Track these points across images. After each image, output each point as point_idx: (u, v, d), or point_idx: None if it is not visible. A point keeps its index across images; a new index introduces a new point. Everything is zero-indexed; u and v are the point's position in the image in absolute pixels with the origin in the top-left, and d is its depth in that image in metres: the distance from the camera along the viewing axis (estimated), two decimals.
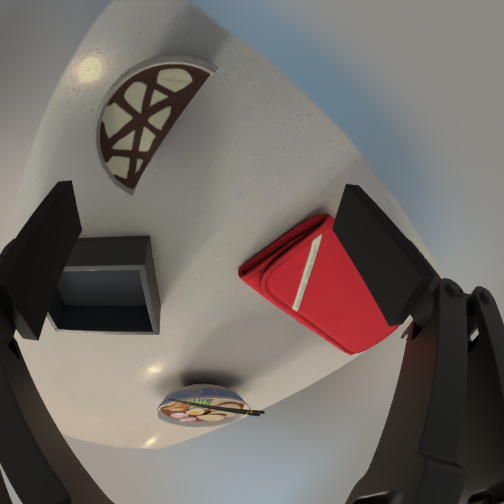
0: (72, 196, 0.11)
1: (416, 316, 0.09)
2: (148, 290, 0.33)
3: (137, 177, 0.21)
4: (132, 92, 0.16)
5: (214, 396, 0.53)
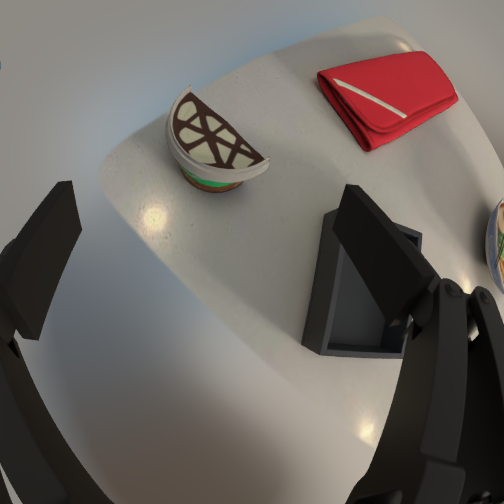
0: (72, 196, 0.11)
1: (416, 316, 0.09)
2: None
3: (255, 152, 0.27)
4: (186, 137, 0.25)
5: (495, 221, 0.39)
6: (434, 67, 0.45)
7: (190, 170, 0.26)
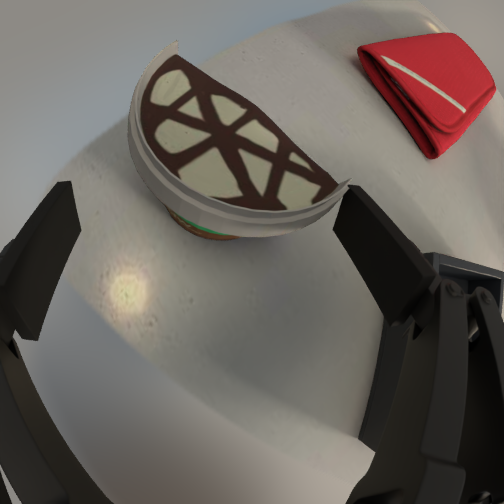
0: (71, 196, 0.11)
1: (417, 316, 0.09)
2: (462, 261, 0.19)
3: (320, 169, 0.13)
4: (171, 140, 0.11)
5: None
6: (470, 51, 0.31)
7: (184, 214, 0.12)
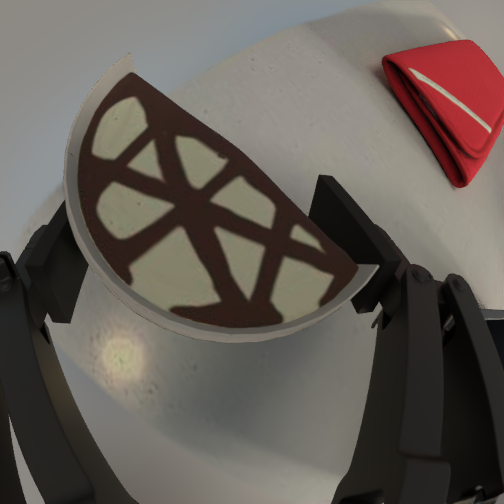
0: None
1: (385, 305, 0.10)
2: (489, 311, 0.16)
3: (334, 248, 0.09)
4: (118, 218, 0.08)
5: None
6: (488, 60, 0.28)
7: None
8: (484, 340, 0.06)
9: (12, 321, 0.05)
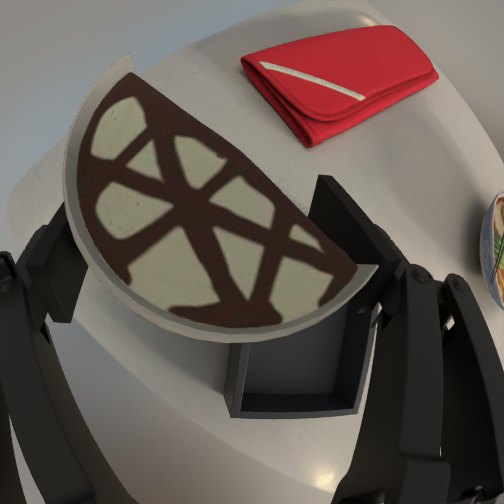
0: None
1: (384, 305, 0.10)
2: None
3: (333, 248, 0.09)
4: (117, 218, 0.08)
5: (490, 222, 0.31)
6: (406, 41, 0.38)
7: None
8: (484, 340, 0.06)
9: (12, 321, 0.05)
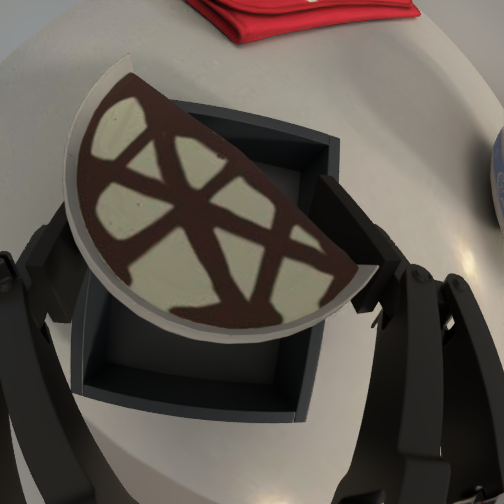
0: None
1: (384, 305, 0.10)
2: (192, 104, 0.15)
3: (334, 249, 0.09)
4: (117, 218, 0.08)
5: (502, 148, 0.21)
6: None
7: (145, 319, 0.08)
8: (484, 340, 0.06)
9: (12, 321, 0.05)
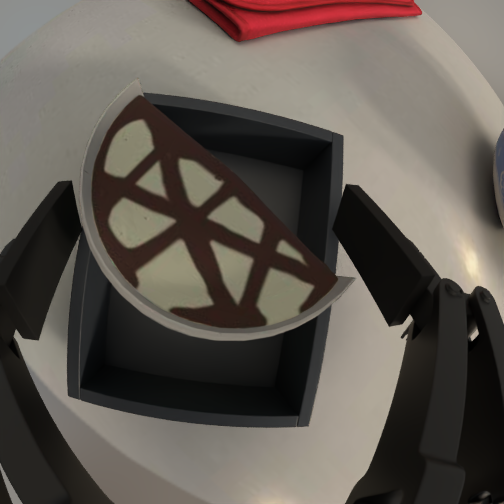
0: (72, 196, 0.11)
1: (416, 316, 0.09)
2: (192, 99, 0.14)
3: (316, 261, 0.10)
4: (127, 229, 0.09)
5: None
6: None
7: (149, 317, 0.10)
8: None
9: None
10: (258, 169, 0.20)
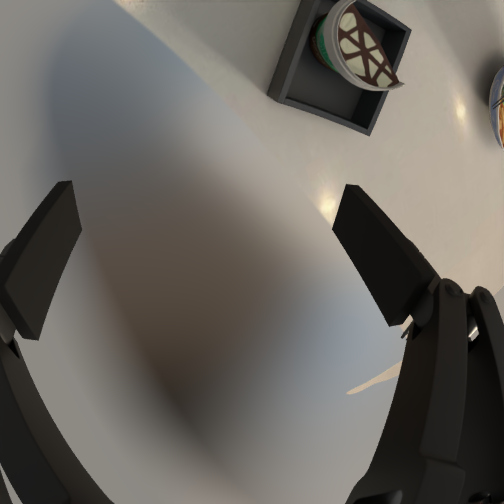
0: (72, 196, 0.11)
1: (416, 316, 0.09)
2: None
3: (394, 74, 0.24)
4: (345, 47, 0.22)
5: None
6: None
7: (342, 74, 0.25)
8: None
9: None
10: None
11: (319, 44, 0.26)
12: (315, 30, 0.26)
